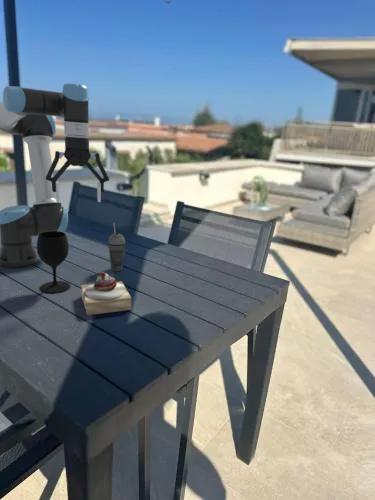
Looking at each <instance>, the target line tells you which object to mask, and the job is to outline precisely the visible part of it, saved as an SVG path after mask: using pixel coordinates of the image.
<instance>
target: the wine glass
mask: <svg viewBox="0 0 375 500" xmlns="http://www.w3.org/2000/svg"><path fill="white" fill-rule="evenodd" d="M69 249H70V246H69V240H68V237H67V235H66V233H65V232H59V231H49V232H43V233H40V234H39V236H37V241H36V253H37V256H38V258H40V260H41V261H42V262H43V263H44V264H46V265H47V266H49V267H51V270H52V276H53V277H52V279H53V280H52V281H48V282H45V283H43V284H41V285H40V286H39V290H40V291H41V292H42V293H45V294H61V293H64V292H66V291H68V290H70V289H71V284H70V283H69V282H68V281H63V280H57V267H58V266H60V265H61V264H62V263H63V262H64V261H65V260H66V259H67V257H68V255H69V251H70V250H69Z"/></svg>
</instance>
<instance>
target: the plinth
mask: <svg viewBox="0 0 375 500" xmlns="http://www.w3.org/2000/svg"><path fill="white" fill-rule="evenodd" d="M116 282H117V285H116V287H115V288H113V289H111V290H109V291H101V290H97V289H95V288H94V283H92V284H83V285H82V284H81V287H80V288H81V299H82V302H83V306H84V309H86V310H85V313H86V315H87V316H93V315H92V314H94V315H102V314H108V313H115V312H116V313H117V312H123V311H131V310H132V296H131V295H130V293H129V291H128V290H127V288H126V286H125V284H124V283H123V281H116Z"/></svg>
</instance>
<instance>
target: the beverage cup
mask: <svg viewBox="0 0 375 500" xmlns="http://www.w3.org/2000/svg"><path fill="white" fill-rule="evenodd" d="M112 223H113V230H114V231H113V232H114V233H113V234H111V235H110V236H109V237H108V239H107V245H108V246H107V247H108V251H109V263H110V270H111V271H113V272H119V271H122V270H123V264H124V256H125V255H124V253H125V247H126V240H125V237H124V236H123V234H121V233H118V232H116V226H115V224H116V223H115V222H112Z"/></svg>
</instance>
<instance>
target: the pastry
mask: <svg viewBox="0 0 375 500" xmlns="http://www.w3.org/2000/svg"><path fill="white" fill-rule="evenodd" d="M117 282H118V281H117V280H116V278H115V277H113V276H110V275H109V274H108V273H105V272H104V271H101V272H100V273H99V274H98V275H97V277H96V279H95V282H94V283H93V284H94V288H95V289H97V290H101V291H109V290H111V289H113V288H115V287H116V285H117Z"/></svg>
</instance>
